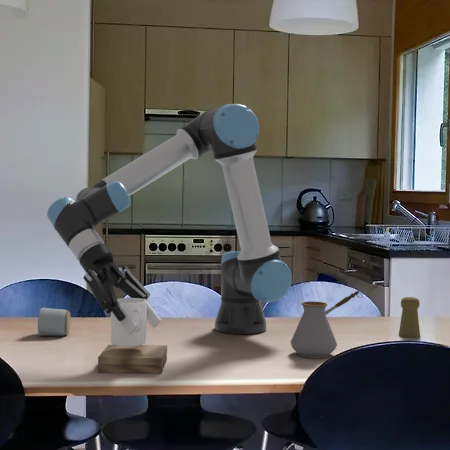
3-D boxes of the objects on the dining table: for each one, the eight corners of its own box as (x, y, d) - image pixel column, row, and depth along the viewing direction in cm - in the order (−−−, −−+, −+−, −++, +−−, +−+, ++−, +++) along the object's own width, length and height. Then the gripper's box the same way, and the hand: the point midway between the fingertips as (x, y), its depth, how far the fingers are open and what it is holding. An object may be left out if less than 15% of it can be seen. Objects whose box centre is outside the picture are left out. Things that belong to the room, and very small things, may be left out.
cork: (422, 334, 199) (422, 296, 199) (418, 338, 194) (419, 299, 194) (400, 332, 202) (401, 295, 202) (396, 336, 197) (397, 297, 196)
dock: (167, 359, 166) (167, 345, 166) (161, 373, 153) (161, 358, 153) (108, 359, 166) (108, 344, 166) (98, 373, 153) (98, 357, 153)
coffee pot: (310, 362, 166) (311, 299, 165) (281, 352, 175) (281, 293, 175) (375, 351, 177) (376, 293, 176) (344, 343, 187) (345, 288, 186)
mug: (124, 351, 151) (124, 306, 151) (105, 340, 162) (106, 298, 161) (158, 348, 155) (158, 304, 155) (138, 337, 166) (138, 296, 165)
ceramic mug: (67, 337, 190) (67, 309, 190) (37, 338, 190) (37, 310, 189) (72, 331, 201) (72, 304, 201) (43, 331, 200) (43, 304, 200)
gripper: (111, 259, 176) (163, 330, 168) (51, 266, 158) (106, 345, 150) (128, 239, 173) (181, 310, 165) (69, 244, 155) (125, 323, 147)
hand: (145, 327), depth 158 cm, fingers closed on mug, 8 cm apart
